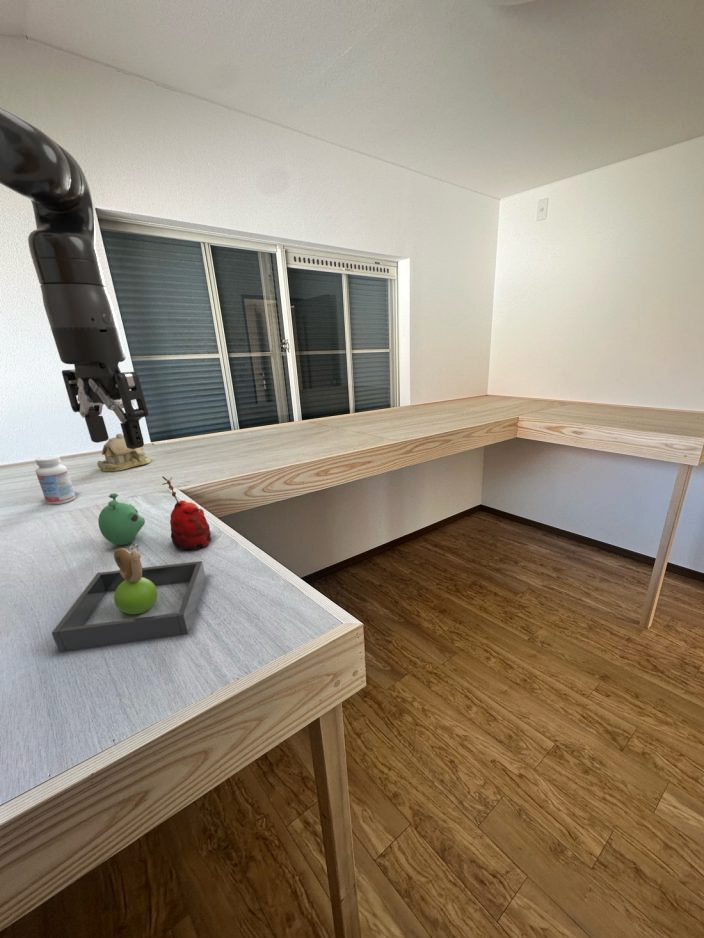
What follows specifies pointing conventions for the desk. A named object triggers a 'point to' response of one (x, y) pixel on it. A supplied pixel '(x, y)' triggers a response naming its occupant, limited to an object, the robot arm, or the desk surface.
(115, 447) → the ceramic model
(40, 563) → the desk surface
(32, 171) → the robot arm
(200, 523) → the red bumpy rounded piece
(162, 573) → the grey open frame
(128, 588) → the snail figurine
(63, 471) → the pill bottle
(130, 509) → the alien toy
